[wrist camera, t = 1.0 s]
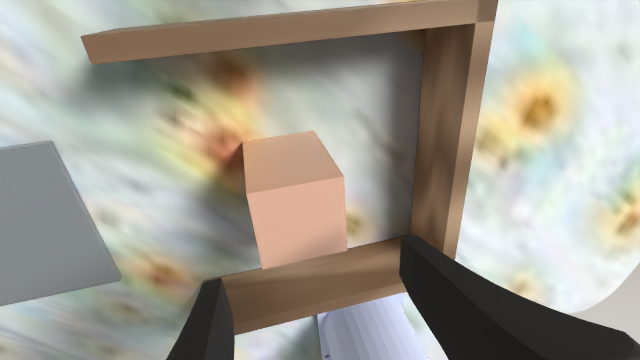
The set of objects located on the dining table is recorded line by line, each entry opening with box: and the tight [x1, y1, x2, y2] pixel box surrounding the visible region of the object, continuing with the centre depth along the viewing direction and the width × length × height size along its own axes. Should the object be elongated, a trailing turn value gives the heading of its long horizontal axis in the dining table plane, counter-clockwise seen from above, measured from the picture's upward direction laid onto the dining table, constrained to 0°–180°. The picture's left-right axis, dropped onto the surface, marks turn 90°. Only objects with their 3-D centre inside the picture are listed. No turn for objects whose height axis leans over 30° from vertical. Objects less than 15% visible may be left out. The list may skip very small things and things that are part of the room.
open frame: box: [81, 0, 498, 335], centre depth 20 cm, size 18×18×4 cm
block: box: [242, 131, 347, 269], centre depth 19 cm, size 4×4×6 cm
